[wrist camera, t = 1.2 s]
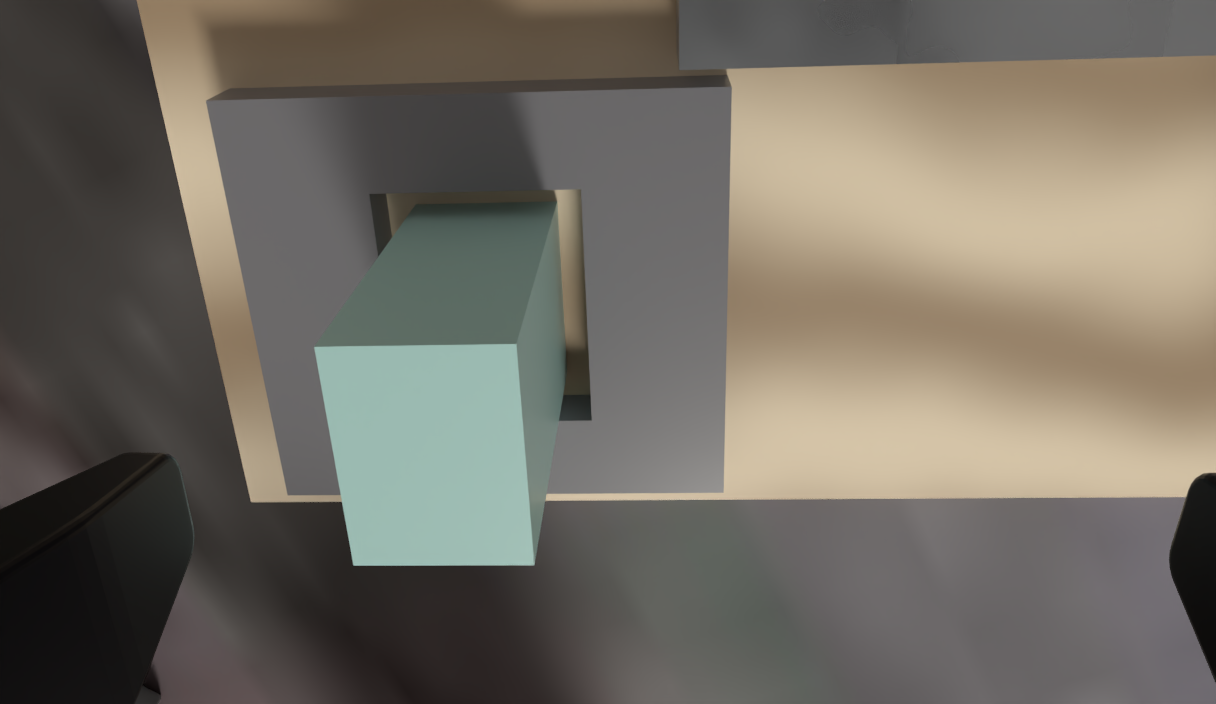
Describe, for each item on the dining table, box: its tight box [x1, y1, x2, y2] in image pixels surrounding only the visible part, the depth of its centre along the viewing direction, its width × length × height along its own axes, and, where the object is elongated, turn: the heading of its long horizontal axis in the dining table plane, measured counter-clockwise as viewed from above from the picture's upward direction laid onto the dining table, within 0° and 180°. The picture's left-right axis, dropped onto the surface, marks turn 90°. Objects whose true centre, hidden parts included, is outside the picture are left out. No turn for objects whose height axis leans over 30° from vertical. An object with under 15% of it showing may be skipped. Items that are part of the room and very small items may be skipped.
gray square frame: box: [206, 75, 732, 495], centre depth 21 cm, size 9×10×1 cm
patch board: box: [137, 0, 1216, 502], centre depth 19 cm, size 22×24×1 cm
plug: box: [314, 201, 567, 566], centre depth 19 cm, size 4×3×7 cm
